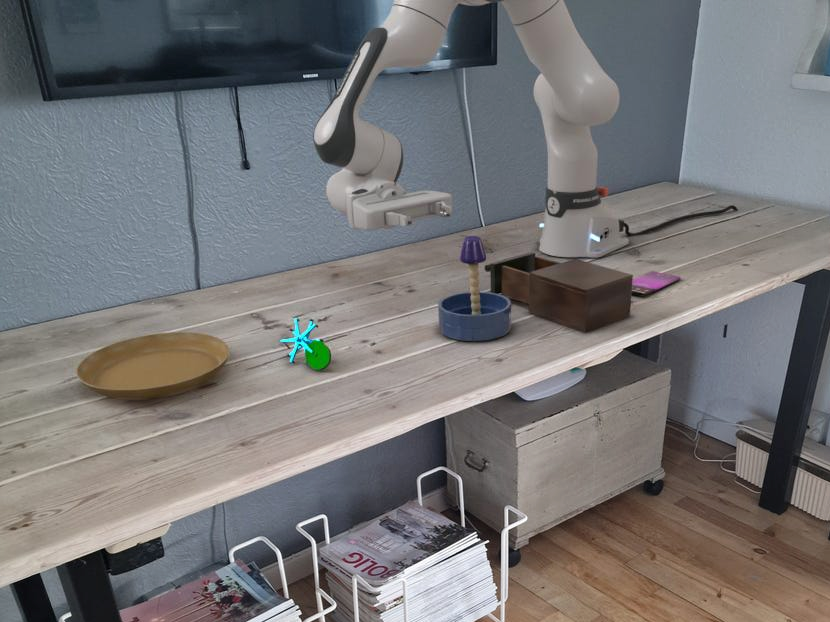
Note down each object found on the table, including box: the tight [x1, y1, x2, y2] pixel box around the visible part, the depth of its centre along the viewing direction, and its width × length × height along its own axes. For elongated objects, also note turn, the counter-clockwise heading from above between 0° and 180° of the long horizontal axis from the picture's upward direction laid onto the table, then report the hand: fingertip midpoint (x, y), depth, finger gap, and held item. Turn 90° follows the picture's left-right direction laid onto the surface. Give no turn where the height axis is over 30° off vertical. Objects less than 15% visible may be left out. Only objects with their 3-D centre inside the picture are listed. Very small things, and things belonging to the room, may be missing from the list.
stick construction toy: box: [280, 317, 332, 371], centre depth 150 cm, size 12×7×8 cm
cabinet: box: [528, 258, 634, 334], centre depth 166 cm, size 15×13×8 cm
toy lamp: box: [459, 235, 487, 315], centre depth 158 cm, size 5×5×17 cm
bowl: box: [437, 291, 512, 342], centre depth 161 cm, size 13×13×5 cm
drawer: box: [484, 251, 561, 305], centre depth 175 cm, size 18×11×6 cm, turn 41°
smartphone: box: [631, 270, 681, 297], centre depth 182 cm, size 7×15×1 cm, turn 140°
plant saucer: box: [75, 331, 230, 401], centre depth 145 cm, size 24×24×3 cm
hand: (429, 216), depth 161 cm, fingers open, 8 cm apart
